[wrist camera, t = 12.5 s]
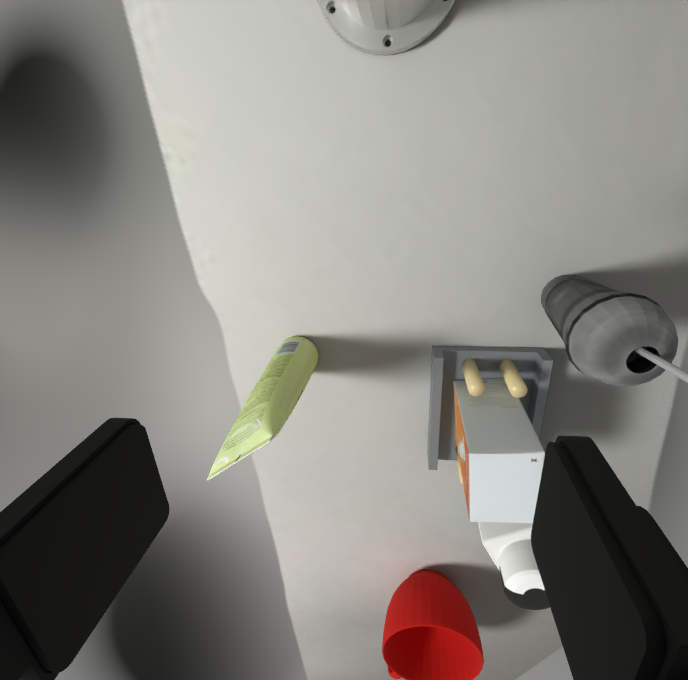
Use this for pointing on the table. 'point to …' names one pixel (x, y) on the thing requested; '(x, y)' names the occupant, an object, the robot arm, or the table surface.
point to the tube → (269, 402)
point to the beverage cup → (611, 331)
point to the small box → (497, 454)
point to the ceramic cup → (431, 631)
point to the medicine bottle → (515, 562)
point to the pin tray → (488, 370)
